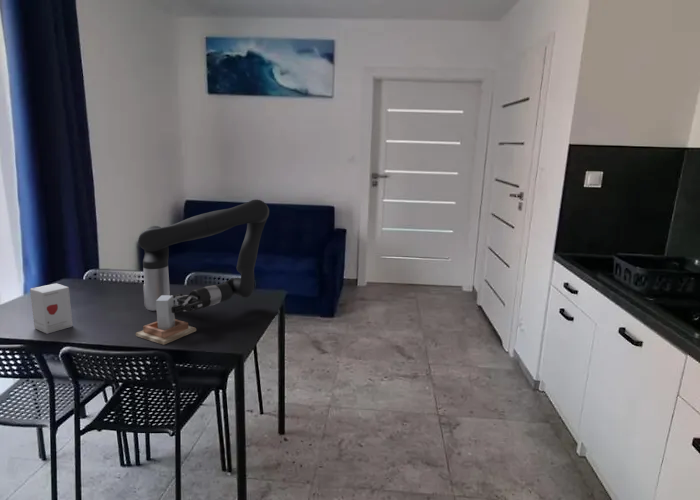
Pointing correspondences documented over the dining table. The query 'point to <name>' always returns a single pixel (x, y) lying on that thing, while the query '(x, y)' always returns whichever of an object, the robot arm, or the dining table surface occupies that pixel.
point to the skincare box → (165, 312)
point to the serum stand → (165, 332)
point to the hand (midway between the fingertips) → (165, 307)
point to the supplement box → (51, 308)
